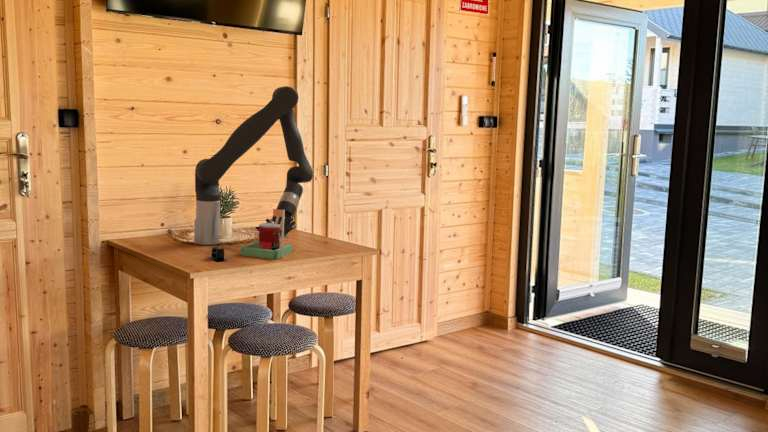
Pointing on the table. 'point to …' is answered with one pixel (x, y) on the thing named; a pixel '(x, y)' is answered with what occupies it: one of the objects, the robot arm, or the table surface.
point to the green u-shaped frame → (264, 253)
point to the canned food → (269, 236)
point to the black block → (217, 254)
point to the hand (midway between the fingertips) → (274, 241)
